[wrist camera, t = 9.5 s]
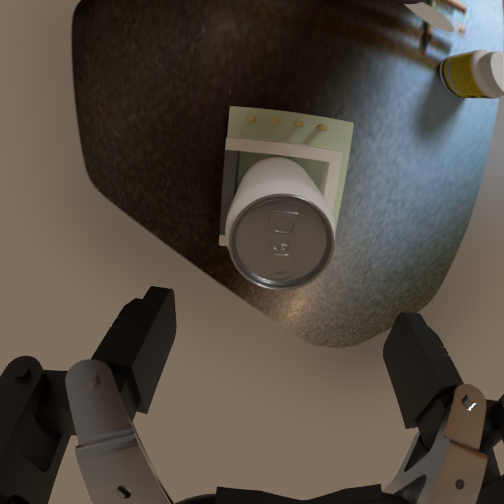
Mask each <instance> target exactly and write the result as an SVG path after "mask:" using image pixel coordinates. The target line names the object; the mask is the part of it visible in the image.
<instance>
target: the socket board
mask: <svg viewBox="0 0 504 504" xmlns="http://www.w3.org/2000/svg"><path fill="white" fill-rule="evenodd" d="M353 126H354V123H352V122H347V121H342V120H337V119H331V118H326V117H320V116H314V115H308V114H301V113H294V112H287V111H278V110H270V109H260V108H248V107H235V106H230V111H229V122H228V134H227V138H226V146H225V159H224V172H223V186H222V202H221V218H220V236H219V245H221V246H227V243H226V237H225V226H226V220H227V216H228V213H229V210H230V207H231V205H232V202H233V200H234V197H235V195H236V192H237V190H238V187H239V185H240V183H241V181H242V178H243V176H244V175H245V173H246V171H247V170H248V169H249V168H250V167H251V166H252V165H253V164H254V163H256V162H258V161H259V160H262V159H264V158H268V157H284V158H288V159H290V160H292V161H294V162H296V163H297V164H299V165H300V166H301V167H302V168H303V169H304V170H305V171H306V173H307V174H308V175H309V177H310V178H311V179H312V181H313V182H314V184H315V185H316V187H317V188H318V189H319V191H320V192H321V194H322V195H323V197H324V199H325V200H326V202H327V203H328V205H329V207H330V209H331V212H332V214H333V218H334V222H335V230H336V225H337V221H338V216H339V211H340V205H341V200H342V195H343V189H344V184H345V178H346V172H347V166H348V160H349V154H350V147H351V140H352V133H353Z"/></svg>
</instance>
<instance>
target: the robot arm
mask: <svg viewBox="0 0 504 504" xmlns="http://www.w3.org/2000/svg"><path fill="white" fill-rule="evenodd" d="M392 1H395V2H399V3H404V4H416V3H419V2H422V1H424V0H392ZM175 334H176V312H175V298H174V291H173V289H168V288H161V287H155V286H151V287H150V288H149V290H148V291H147V293H146V295H145V296H144V298H143V299H138V298H135V299H134V300H132V301H131V302H129V303H128V304H126V305H125V306H124V307H123V309H122V310H121V312H120V313H119V315H118V318H116V320H115V321H114V323H113V324H112V327H110V329H109V331H108V332H107V334H106V336H105V337H104V339H103V340H102V342H101V343H100V345H99V346H98V348H97V350H96V352H95V353H94V355H93V356H92V358H91V359H87V360H82V361H80V362H77V363H76V364H74V365H73V366H72V367H71V368H70V369H69V371H54V370H43V368H42V366H41V364H40V363H39V361H38V360H37V359H35V358H34V357H30V356H21V357H18V358H16V359H14V360H13V361H11V363H9V364H8V366H7V367H6V369H5V370H4V372H3V373H2V375H1V376H0V504H48V501H49V498H50V495H51V491H52V488H53V485H54V482H55V479H56V475H57V473H58V469H59V466H60V464H61V461H62V458H63V455H64V453H65V450H66V447H67V444H68V442H69V439H70V437H71V435H76V436H77V438H78V442H79V445H78V446H76V448H75V451H76V457H77V461H78V464H79V467H80V470H81V473H82V476H83V479H84V482H85V485H86V487H87V490H88V493H89V495H90V498H91V500H92V503H93V504H174V502H173V500H172V499H171V497H170V495H169V494H168V492H167V490H166V488H165V487H164V485H163V483H162V481H161V480H160V478H159V476H158V474H157V472H156V471H155V469H154V467H153V465H152V463H151V461H150V459H149V457H148V455H147V453H146V451H145V449H144V447H143V444H142V442H141V440H140V438H139V436H138V433H137V431H136V429H135V426H134V424H133V419H134V416H135V413H136V411H137V412H141V413H145V414H147V413H148V410H149V407H150V404H151V401H152V398H153V396H154V393H155V390H156V387H157V384H158V382H159V379H160V376H161V374H162V371H163V368H164V365H165V363H166V360H167V358H168V355H169V352H170V350H171V347H172V344H173V342H174V339H175ZM383 358H384V361H385V364H386V367H387V370H388V373H389V376H390V379H391V382H392V385H393V388H394V391H395V394H396V397H397V401H398V404H399V407H400V410H401V414H402V417H403V421H404V424H405V428H406V429H409V428H415V427H418V429H419V432H418V433H417V434H416V435H415V437H414V439H413V442H412V444H411V446H410V449H409V451H408V453H407V455H406V457H405V459H404V461H403V463H402V465H401V467H400V469H399V471H398V473H397V475H396V476H395V478H394V479H393V480H392V482H391V483H390V484H389V485H388V486H387V487H386V488H385V490H384V491H383V492H382V490H381V484H377V485H371V486H363V487H356V488H347V489H343V490H340V491H337V492H334V493H330V494H327V495H324V496H321V497H317V498H313V499H310V500H297V499H292V498H288V497H283V496H279V495H275V494H271V493H267V492H263V491H257V490H244V489H234V488H224V487H217V491H216V494H205V495H199V496H195V497H191V498H187V499H185V500H182V501H179V502H177V503H175V504H504V474H503V475H502V476H500V472H499V469H498V465H497V461H496V458H495V454H494V451H493V447H494V446H495V445H496V444H497V443H498V442H500V441H501V440H502V439H503V442H504V394H503V396H502V397H501V398H500V399H499V400H498V401H493V400H487V399H485V397H484V395H483V393H482V392H481V391H480V390H479V389H478V388H477V387H475V386H473V385H470V384H464V383H463V381H462V379H461V377H460V375H459V373H458V371H457V369H456V367H455V366H454V363H453V362H452V360H451V358H450V356H448V352H447V350H446V349H445V348H444V345H443V343H442V342H441V340H440V338H439V336H438V335H437V334H436V333H435V332H434V331H433V330H432V329H431V328H430V327H428V326H427V324H426V322H425V321H424V319H423V317H422V316H421V315H420V314H419V313H403V312H402V313H400V314H399V315H398V316H397V318H396V321H395V323H394V325H393V327H392V329H391V332H390V334H389V336H388V338H387V340H386V342H385V344H384V348H383Z"/></svg>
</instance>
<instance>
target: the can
mask: <svg viewBox="0 0 504 504" xmlns="http://www.w3.org/2000/svg"><path fill="white" fill-rule="evenodd" d="M225 237H226V243H227V246H228V249H229V252H230V256H231V259H232V261H233V263H234V265H235V267H236V269H237V270H238V271H239V272H240V274H241V275H242V276H243V277H245V278H246V279H247V280H248V281H250V282H251V283H253V284H255V285H257V286H259V287H262V288H265V289H269V290H276V291H286V290H292V289H296V288H300V287H302V286H305V285H307V284H308V283H310V282H312V281H313V280H315V279H316V278H317V277H318V276H319V275H320V274H321V273H322V272H323V271H324V270H325V268H326V267H327V265H328V264H329V262H330V259H331V257H332V254H333V249H334V240H335V222H334V218H333V214H332V212H331V209H330V207H329V205H328V203H327V202H326V200H325V199H324V197H323V195H322V194H321V192H320V191H319V189H318V188H317V187H316V185H315V184H314V182H313V181H312V179H311V178H310V177H309V175H308V174H307V173H306V171H305V170H304V169H303V168H302V167H301V166H300V165H299V164H297V163H296V162H294V161H292V160H290V159H288V158H284V157H268V158H264V159H262V160H259V161H258V162H256V163H254V164H253V165H252V166H251V167H250V168H249V169H248V170H247V171H246V173H245V175H244V176H243V178H242V181H241V183H240V185H239V187H238V190H237V192H236V195H235V197H234V200H233V202H232V205H231V207H230V210H229V213H228V216H227V220H226V226H225Z"/></svg>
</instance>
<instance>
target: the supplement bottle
mask: <svg viewBox="0 0 504 504" xmlns="http://www.w3.org/2000/svg"><path fill="white" fill-rule="evenodd" d="M440 77H441V80H442V83H443V85H444V86H445V88H446V89H447V90H448V91H449V92H450V93H451V94H452V95H453V96H455V97H458V98H491V99H493V98H499V97H500V96H503V95H504V53H502V52H498V51H496V52H488V51H485V50H477V51H472V52H468V53H463V54H459V55H454V56H450V57H447V58H445V59H444V60H443V61H442V63H441V65H440Z"/></svg>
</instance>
